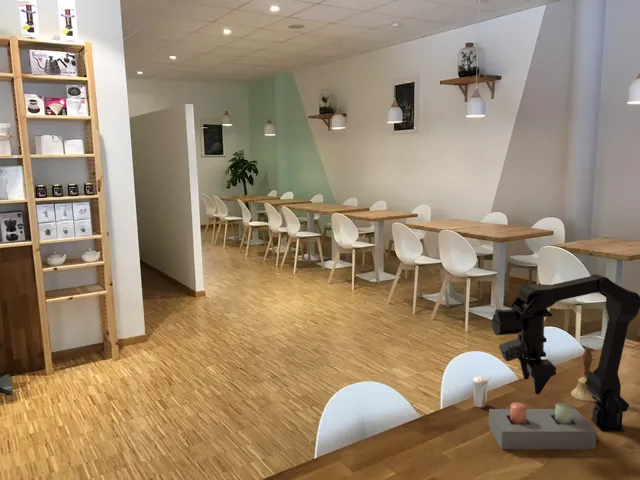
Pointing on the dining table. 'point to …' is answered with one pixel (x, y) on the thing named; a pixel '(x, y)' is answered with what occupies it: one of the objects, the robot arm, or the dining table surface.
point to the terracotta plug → (518, 414)
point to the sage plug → (563, 413)
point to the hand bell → (584, 380)
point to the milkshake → (480, 390)
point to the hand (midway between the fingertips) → (531, 386)
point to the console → (541, 431)
